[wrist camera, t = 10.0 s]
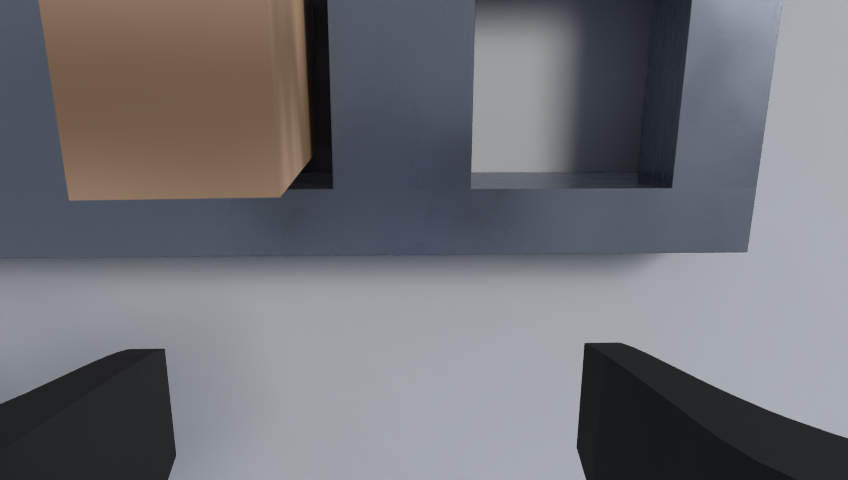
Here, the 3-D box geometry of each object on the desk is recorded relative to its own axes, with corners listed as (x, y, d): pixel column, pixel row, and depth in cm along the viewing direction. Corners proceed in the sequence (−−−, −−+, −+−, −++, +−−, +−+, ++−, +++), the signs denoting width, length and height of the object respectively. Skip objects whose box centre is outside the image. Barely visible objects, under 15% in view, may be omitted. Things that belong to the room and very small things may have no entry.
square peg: (319, 148, 20) (280, 197, 13) (181, 150, 19) (69, 200, 13) (312, 4, 19) (265, -24, 12) (166, 5, 18) (34, -24, 12)
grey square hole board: (705, 229, 21) (747, 252, 18) (-229, 234, 20) (-317, 260, 17) (745, -87, 18) (797, -108, 16) (-320, -103, 17) (-436, -129, 15)
